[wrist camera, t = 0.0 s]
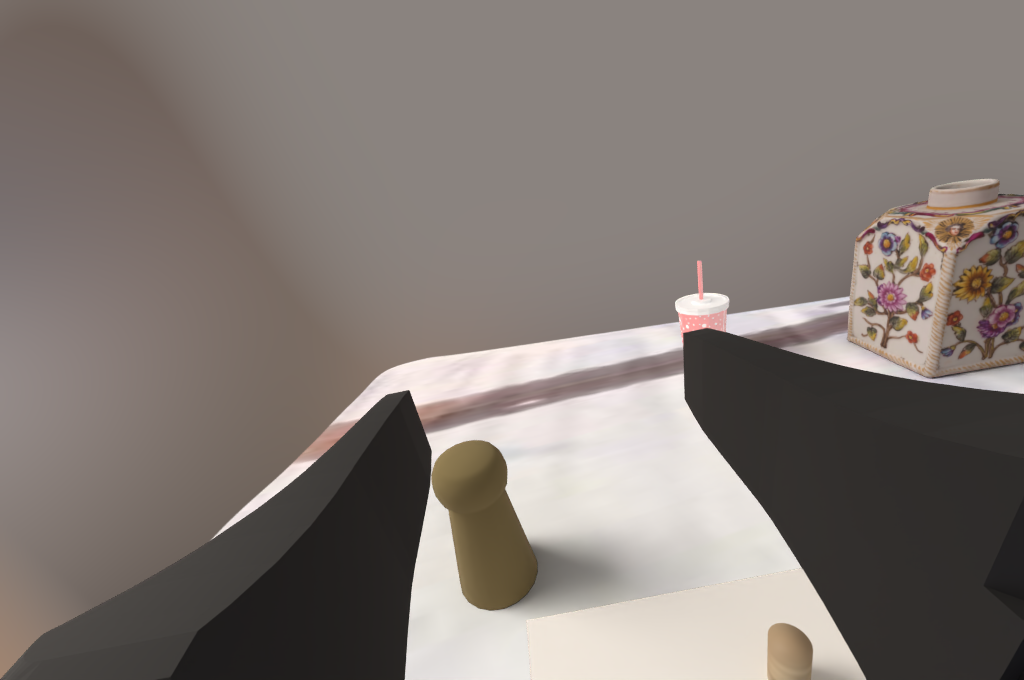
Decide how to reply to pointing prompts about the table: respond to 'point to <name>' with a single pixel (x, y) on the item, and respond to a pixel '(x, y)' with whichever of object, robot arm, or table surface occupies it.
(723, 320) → the beverage cup
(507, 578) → the cork
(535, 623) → the base plate
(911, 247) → the decorative jar
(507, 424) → the table surface
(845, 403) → the robot arm
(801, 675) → the dowel
